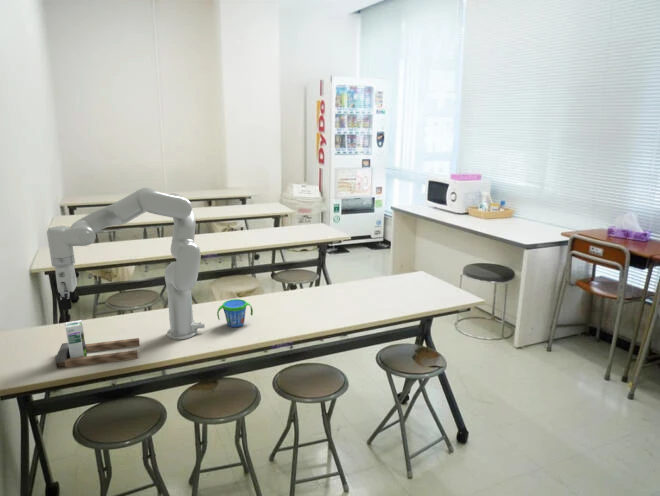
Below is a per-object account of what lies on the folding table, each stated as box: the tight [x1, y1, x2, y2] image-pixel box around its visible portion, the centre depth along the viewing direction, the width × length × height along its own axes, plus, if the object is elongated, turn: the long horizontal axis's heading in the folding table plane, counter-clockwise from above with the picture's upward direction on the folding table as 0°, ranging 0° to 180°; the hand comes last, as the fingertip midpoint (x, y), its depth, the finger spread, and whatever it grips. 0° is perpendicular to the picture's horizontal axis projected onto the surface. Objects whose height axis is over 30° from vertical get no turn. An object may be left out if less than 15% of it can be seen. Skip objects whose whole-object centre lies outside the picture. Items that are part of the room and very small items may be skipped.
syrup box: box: [64, 319, 88, 358], centre depth 186 cm, size 6×6×14 cm
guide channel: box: [54, 337, 141, 370], centre depth 190 cm, size 28×13×4 cm, turn 108°
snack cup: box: [216, 298, 254, 328], centre depth 218 cm, size 16×10×10 cm
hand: (69, 304), depth 182 cm, fingers open, 9 cm apart
